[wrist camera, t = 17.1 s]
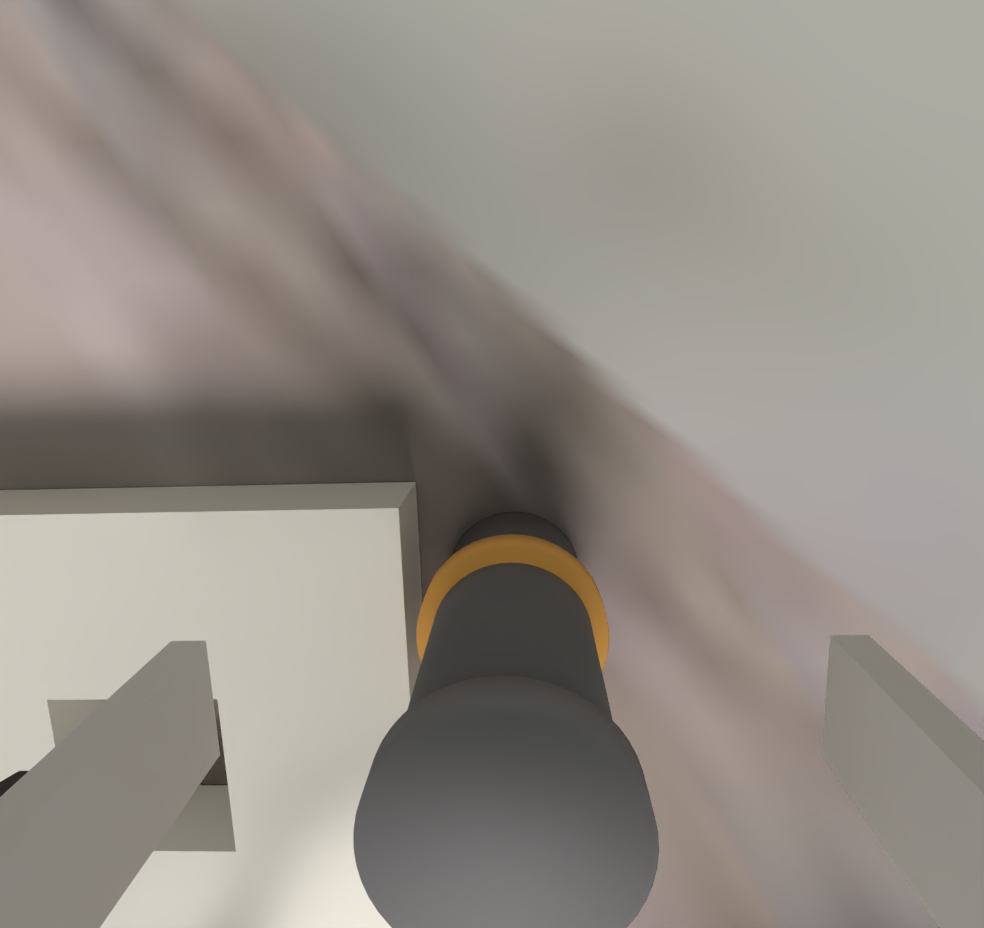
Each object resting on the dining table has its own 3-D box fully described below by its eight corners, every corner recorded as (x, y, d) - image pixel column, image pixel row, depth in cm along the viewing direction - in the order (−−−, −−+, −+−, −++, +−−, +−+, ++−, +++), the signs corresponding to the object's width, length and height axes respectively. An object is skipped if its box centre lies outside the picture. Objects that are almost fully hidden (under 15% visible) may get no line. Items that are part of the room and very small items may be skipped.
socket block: (3, 918, 25) (-66, 997, 22) (-86, 491, 22) (-179, 518, 19) (440, 923, 24) (428, 1006, 22) (415, 482, 21) (398, 508, 18)
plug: (441, 645, 22) (358, 978, 11) (434, 500, 21) (334, 705, 10) (591, 644, 22) (662, 983, 11) (591, 497, 21) (669, 703, 10)
